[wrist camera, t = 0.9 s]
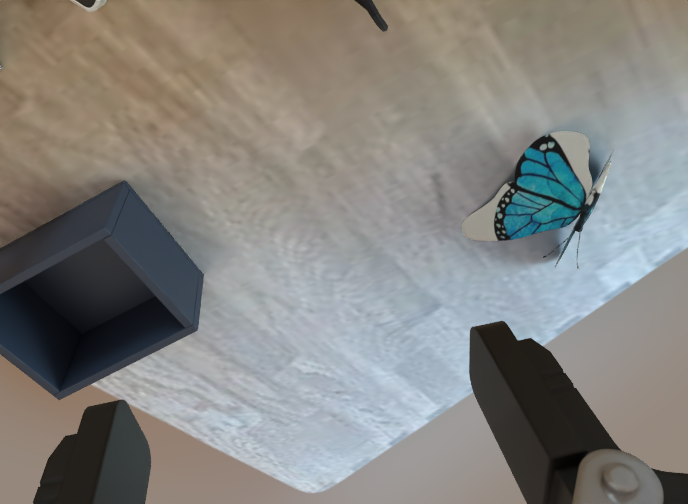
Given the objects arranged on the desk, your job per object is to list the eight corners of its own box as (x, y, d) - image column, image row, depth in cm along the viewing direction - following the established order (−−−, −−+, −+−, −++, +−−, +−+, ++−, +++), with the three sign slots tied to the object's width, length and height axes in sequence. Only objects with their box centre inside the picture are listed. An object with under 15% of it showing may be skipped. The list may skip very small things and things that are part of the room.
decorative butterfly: (673, 169, 37) (608, 295, 39) (608, 156, 43) (554, 266, 45) (566, 118, 34) (501, 260, 36) (511, 111, 40) (458, 233, 42)
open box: (-11, 254, 37) (-54, 312, 31) (125, 179, 35) (104, 227, 30) (82, 337, 42) (58, 400, 36) (204, 275, 40) (198, 330, 35)
